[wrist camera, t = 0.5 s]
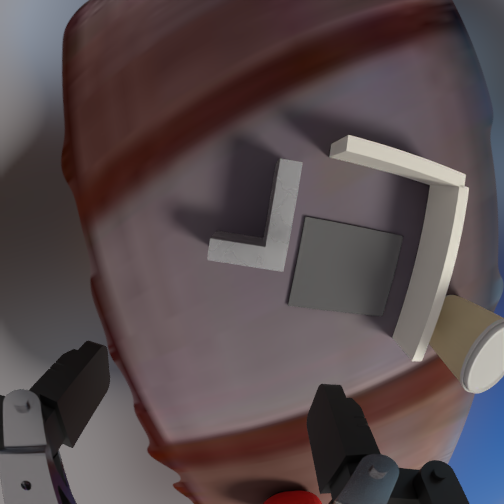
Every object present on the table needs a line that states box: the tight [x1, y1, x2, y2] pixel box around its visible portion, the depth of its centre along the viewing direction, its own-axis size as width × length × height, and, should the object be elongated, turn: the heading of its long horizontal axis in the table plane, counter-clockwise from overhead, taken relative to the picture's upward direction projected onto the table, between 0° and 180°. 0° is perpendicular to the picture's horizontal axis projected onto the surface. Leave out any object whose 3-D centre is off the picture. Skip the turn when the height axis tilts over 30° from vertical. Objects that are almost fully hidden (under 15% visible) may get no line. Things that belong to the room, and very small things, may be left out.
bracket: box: [207, 158, 303, 272], centre depth 28 cm, size 10×7×5 cm
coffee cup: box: [429, 295, 504, 393], centre depth 28 cm, size 9×9×12 cm
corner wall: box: [329, 135, 469, 361], centre depth 29 cm, size 21×15×6 cm
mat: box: [288, 217, 403, 316], centre depth 32 cm, size 10×12×1 cm
